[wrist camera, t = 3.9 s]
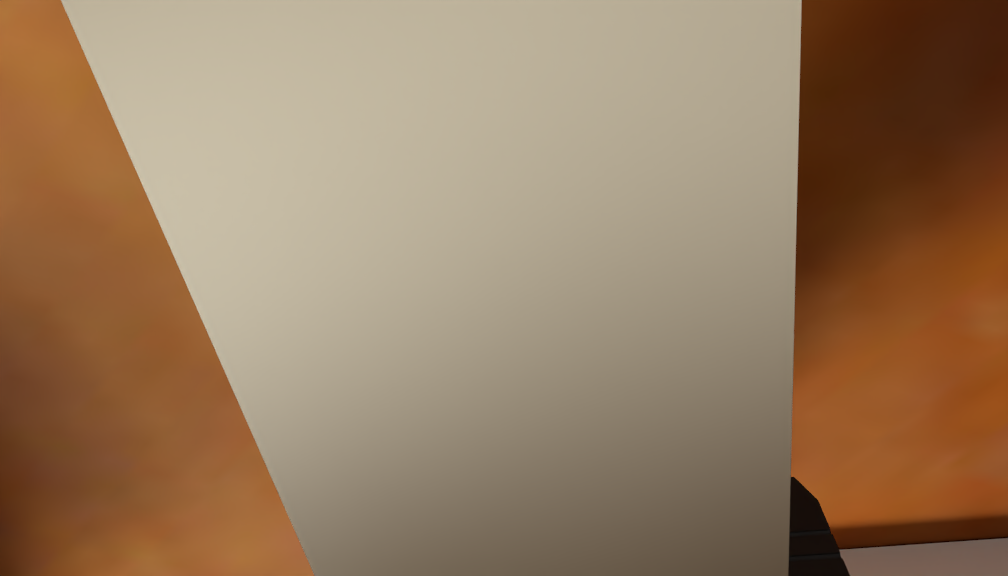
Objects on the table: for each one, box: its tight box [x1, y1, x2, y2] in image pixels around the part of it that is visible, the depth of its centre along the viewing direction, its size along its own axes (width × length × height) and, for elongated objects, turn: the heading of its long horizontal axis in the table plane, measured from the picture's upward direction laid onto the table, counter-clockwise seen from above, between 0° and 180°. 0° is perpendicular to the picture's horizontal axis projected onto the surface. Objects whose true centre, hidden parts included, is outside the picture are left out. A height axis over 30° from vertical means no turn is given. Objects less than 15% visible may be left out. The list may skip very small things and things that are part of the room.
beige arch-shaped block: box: [61, 0, 802, 576], centre depth 9 cm, size 14×3×9 cm, turn 10°
